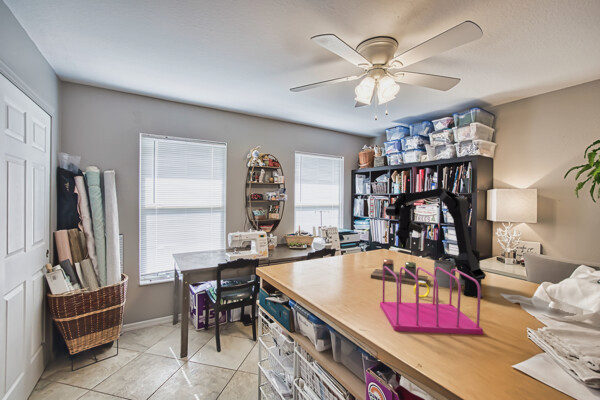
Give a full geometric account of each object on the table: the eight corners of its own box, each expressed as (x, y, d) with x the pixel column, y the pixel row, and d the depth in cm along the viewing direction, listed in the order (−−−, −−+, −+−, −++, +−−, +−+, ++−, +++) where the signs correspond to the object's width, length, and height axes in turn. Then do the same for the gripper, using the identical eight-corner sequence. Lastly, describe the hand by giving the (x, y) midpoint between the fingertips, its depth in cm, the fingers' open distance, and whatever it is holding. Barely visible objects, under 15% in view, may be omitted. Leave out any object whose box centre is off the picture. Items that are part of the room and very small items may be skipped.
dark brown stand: (426, 287, 115) (426, 272, 115) (370, 278, 127) (370, 264, 127) (427, 279, 126) (427, 265, 126) (376, 271, 137) (376, 259, 137)
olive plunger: (415, 279, 121) (415, 264, 121) (404, 277, 123) (404, 263, 123) (416, 276, 125) (416, 262, 125) (405, 274, 127) (405, 261, 127)
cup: (449, 282, 123) (450, 260, 123) (458, 288, 115) (459, 265, 114) (430, 281, 124) (431, 259, 123) (438, 287, 115) (438, 264, 115)
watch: (426, 295, 106) (427, 281, 106) (430, 298, 103) (431, 283, 103) (411, 294, 106) (413, 280, 105) (415, 297, 103) (416, 282, 103)
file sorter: (379, 306, 94) (380, 262, 94) (451, 309, 93) (453, 264, 93) (394, 331, 77) (395, 277, 77) (483, 335, 76) (485, 280, 76)
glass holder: (482, 283, 121) (483, 251, 121) (475, 291, 111) (477, 255, 110) (460, 279, 127) (461, 248, 127) (452, 286, 117) (453, 252, 116)
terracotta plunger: (392, 275, 126) (392, 261, 125) (382, 273, 128) (382, 260, 128) (393, 273, 130) (394, 259, 129) (384, 271, 132) (384, 258, 132)
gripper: (421, 219, 122) (420, 253, 122) (423, 217, 139) (423, 247, 139) (395, 218, 127) (395, 250, 128) (401, 216, 144) (400, 244, 144)
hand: (404, 248), depth 134 cm, fingers closed
